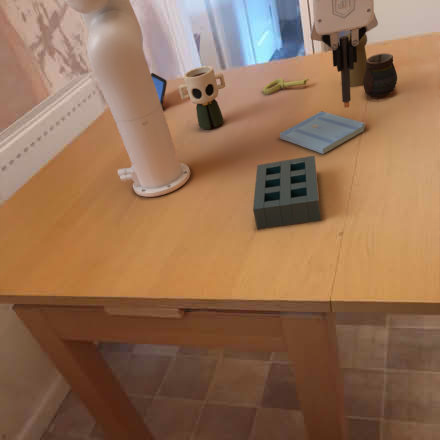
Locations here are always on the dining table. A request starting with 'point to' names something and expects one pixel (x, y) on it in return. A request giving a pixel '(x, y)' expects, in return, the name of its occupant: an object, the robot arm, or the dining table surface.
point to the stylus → (345, 70)
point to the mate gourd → (379, 76)
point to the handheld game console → (159, 87)
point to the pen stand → (286, 193)
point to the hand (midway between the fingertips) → (345, 67)
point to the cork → (359, 63)
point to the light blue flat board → (323, 132)
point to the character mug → (204, 94)
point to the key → (282, 85)
